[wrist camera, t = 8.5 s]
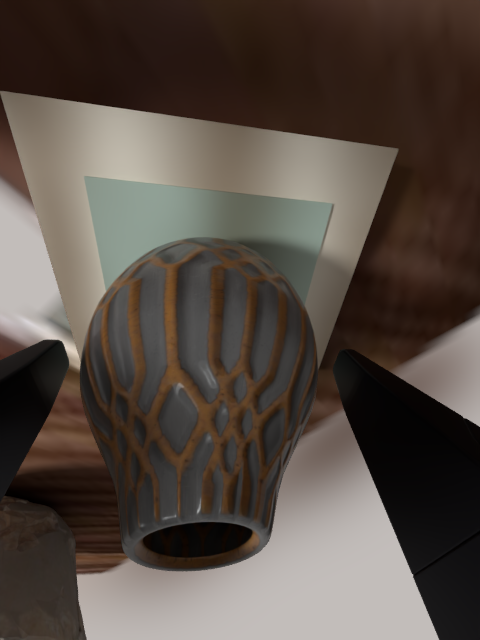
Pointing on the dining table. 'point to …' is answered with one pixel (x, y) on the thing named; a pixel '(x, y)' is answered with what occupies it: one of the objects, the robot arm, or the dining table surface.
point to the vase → (198, 399)
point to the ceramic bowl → (37, 574)
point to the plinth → (192, 197)
